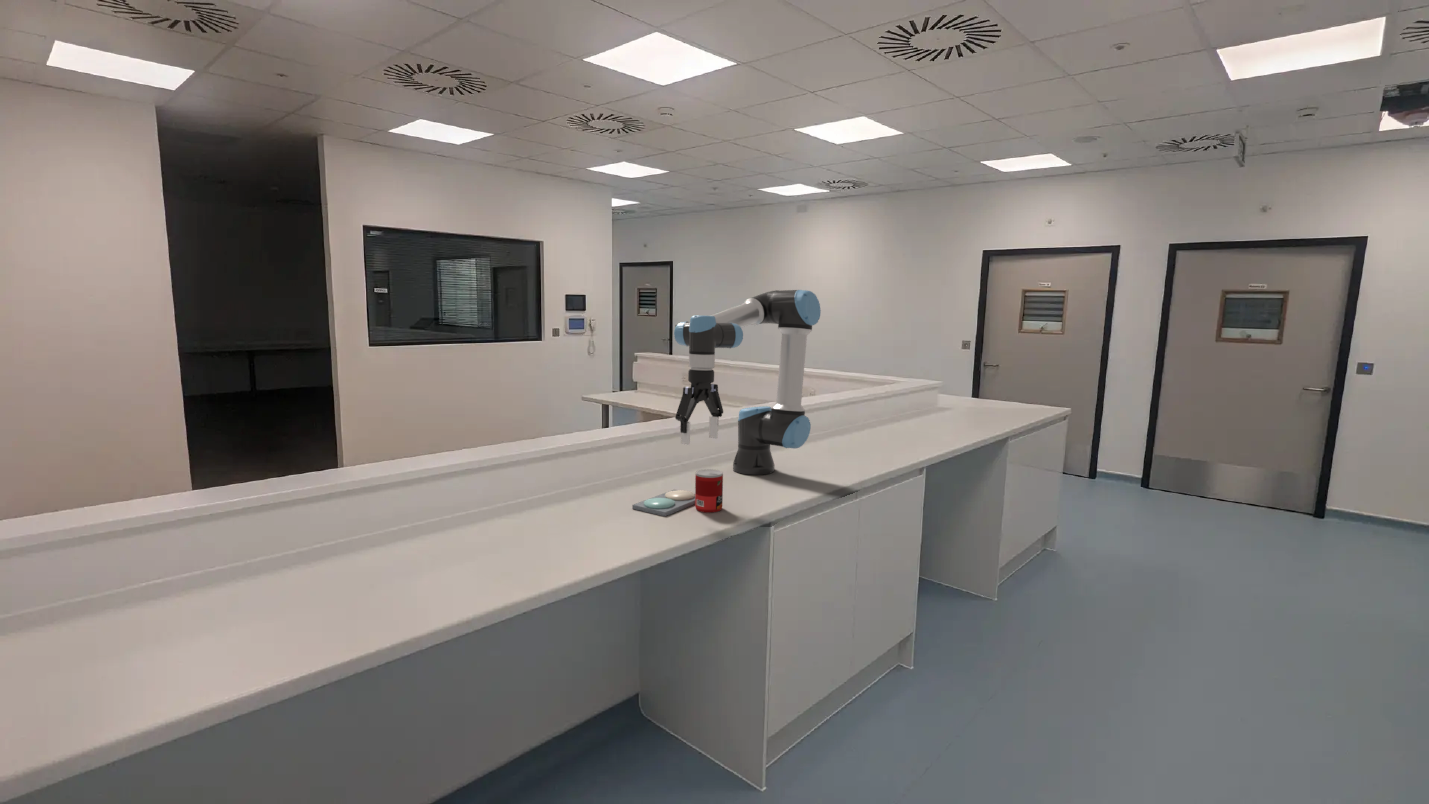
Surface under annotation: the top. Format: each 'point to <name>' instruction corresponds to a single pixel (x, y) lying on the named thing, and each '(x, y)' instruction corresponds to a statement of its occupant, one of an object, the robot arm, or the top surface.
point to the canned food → (708, 490)
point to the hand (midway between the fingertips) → (699, 441)
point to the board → (679, 496)
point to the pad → (659, 503)
